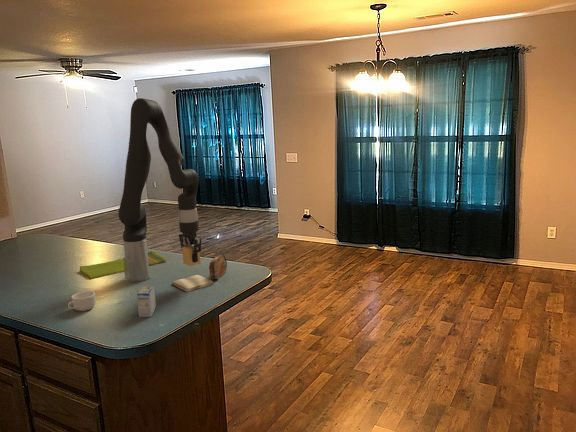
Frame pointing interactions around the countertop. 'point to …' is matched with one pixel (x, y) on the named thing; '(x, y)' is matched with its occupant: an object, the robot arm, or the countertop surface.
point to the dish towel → (115, 266)
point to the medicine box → (146, 301)
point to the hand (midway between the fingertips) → (191, 260)
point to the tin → (218, 267)
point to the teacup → (83, 300)
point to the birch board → (192, 283)
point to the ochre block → (189, 256)
